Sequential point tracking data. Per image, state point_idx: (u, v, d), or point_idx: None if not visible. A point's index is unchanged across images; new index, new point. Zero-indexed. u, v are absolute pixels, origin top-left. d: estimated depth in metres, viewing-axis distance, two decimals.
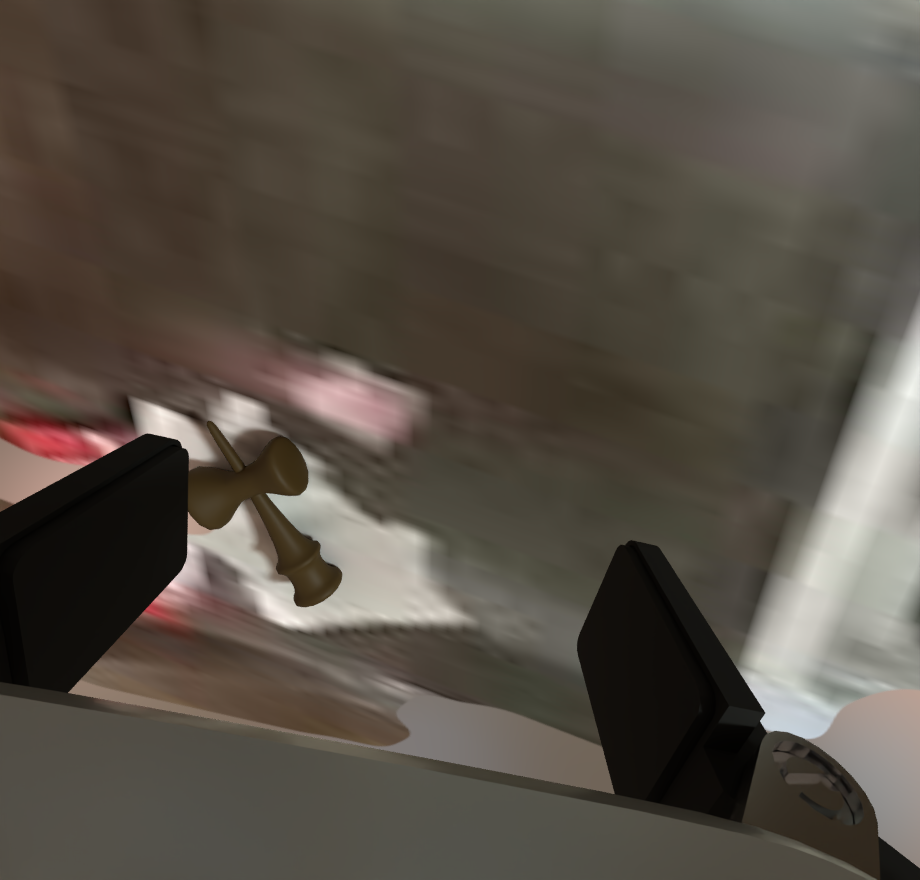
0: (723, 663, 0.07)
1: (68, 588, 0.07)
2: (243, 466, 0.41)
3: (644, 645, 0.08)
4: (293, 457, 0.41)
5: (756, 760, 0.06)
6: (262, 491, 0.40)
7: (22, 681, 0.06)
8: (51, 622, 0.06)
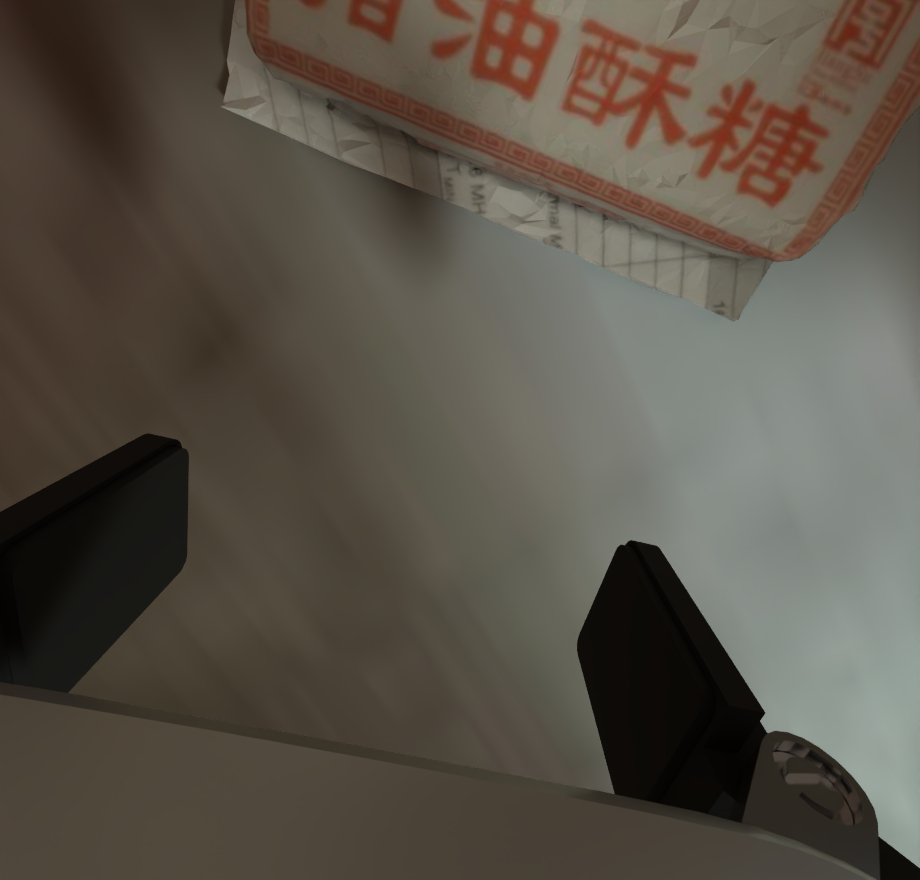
0: (723, 663, 0.07)
1: (68, 588, 0.07)
2: None
3: (644, 645, 0.08)
4: None
5: (756, 760, 0.06)
6: None
7: (22, 681, 0.06)
8: (51, 622, 0.06)
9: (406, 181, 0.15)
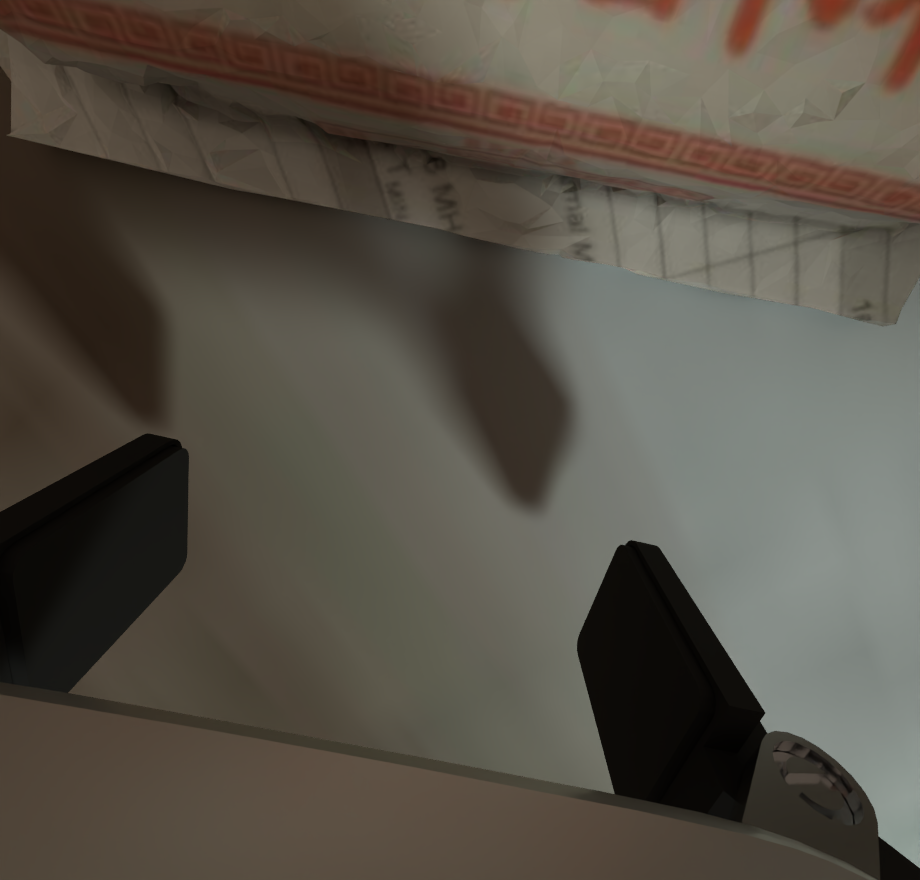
0: (723, 663, 0.07)
1: (68, 588, 0.07)
2: None
3: (644, 645, 0.08)
4: None
5: (756, 760, 0.06)
6: None
7: (22, 681, 0.06)
8: (51, 622, 0.06)
9: (326, 201, 0.09)
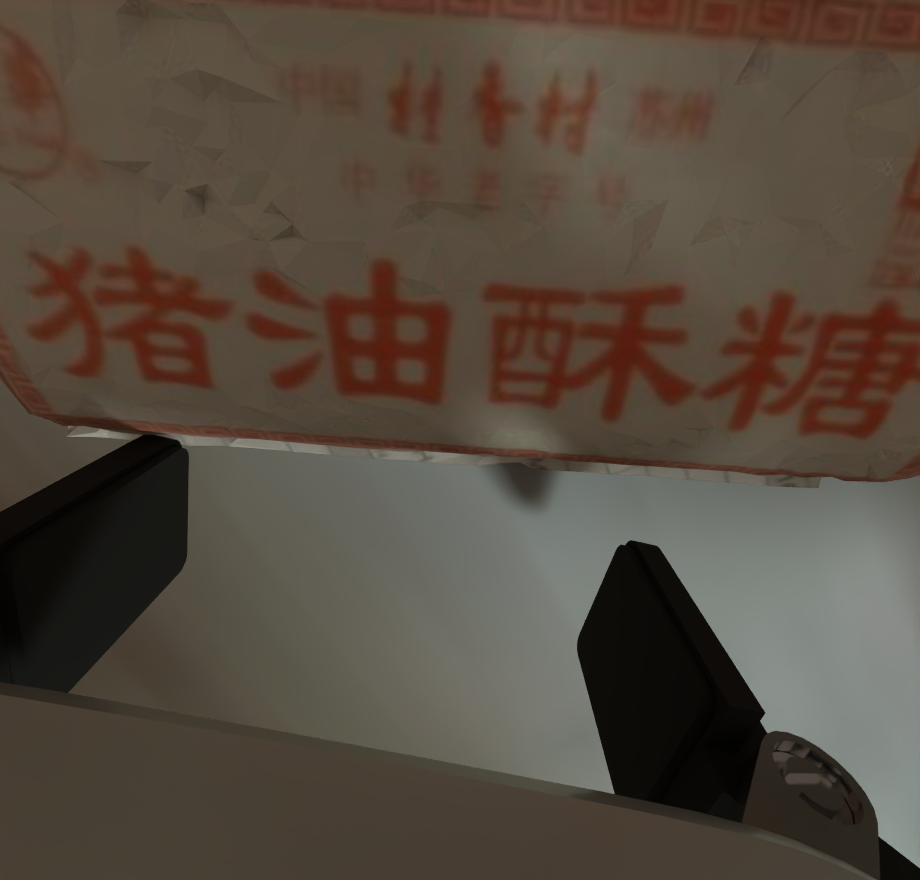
0: (723, 663, 0.07)
1: (68, 588, 0.07)
2: None
3: (644, 645, 0.08)
4: None
5: (756, 760, 0.06)
6: None
7: (22, 681, 0.06)
8: (51, 622, 0.06)
9: (320, 451, 0.11)
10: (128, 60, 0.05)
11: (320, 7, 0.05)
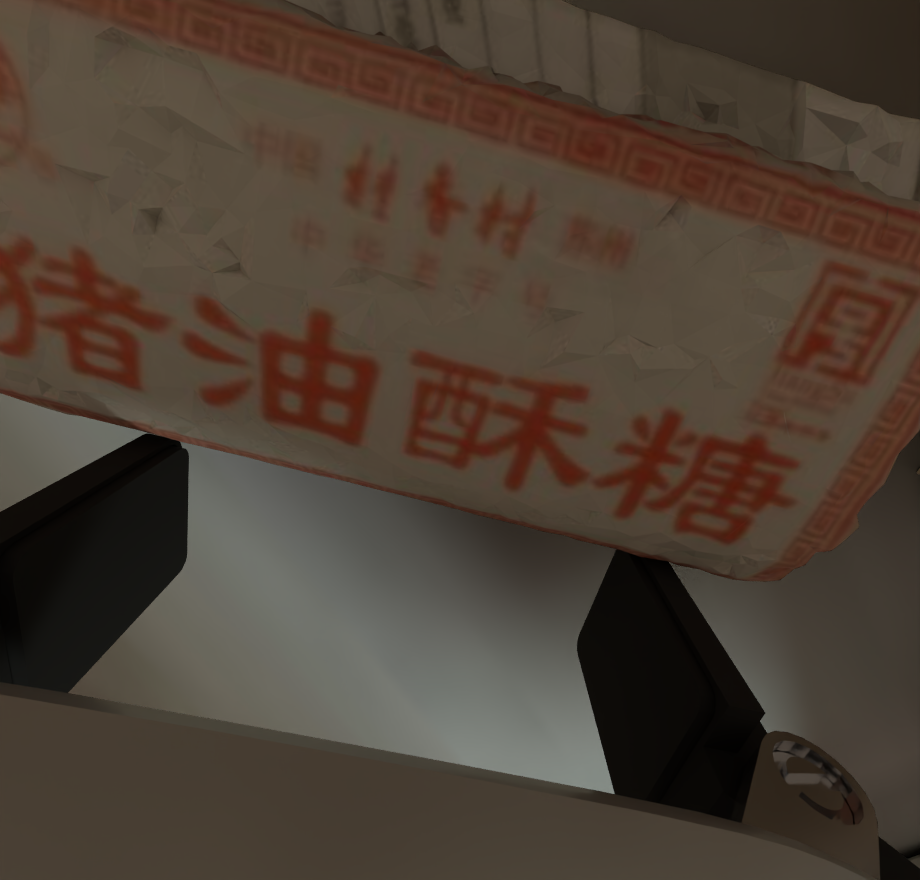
0: (723, 663, 0.07)
1: (68, 588, 0.07)
2: None
3: (644, 645, 0.08)
4: None
5: (756, 760, 0.06)
6: None
7: (22, 681, 0.06)
8: (51, 622, 0.06)
9: None
10: (100, 82, 0.05)
11: (293, 80, 0.05)
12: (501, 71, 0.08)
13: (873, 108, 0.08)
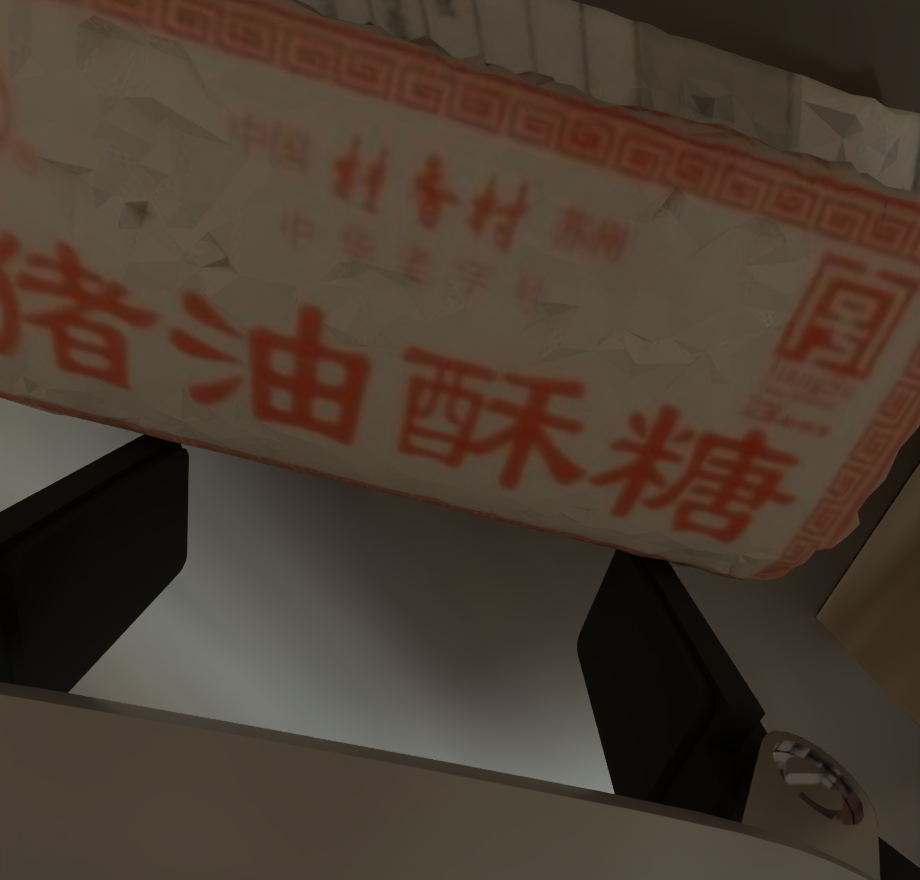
0: (723, 663, 0.07)
1: (68, 588, 0.07)
2: None
3: (644, 645, 0.08)
4: None
5: (756, 760, 0.06)
6: None
7: (22, 681, 0.06)
8: (51, 622, 0.06)
9: None
10: (83, 72, 0.05)
11: (280, 70, 0.05)
12: (494, 65, 0.08)
13: (870, 100, 0.08)
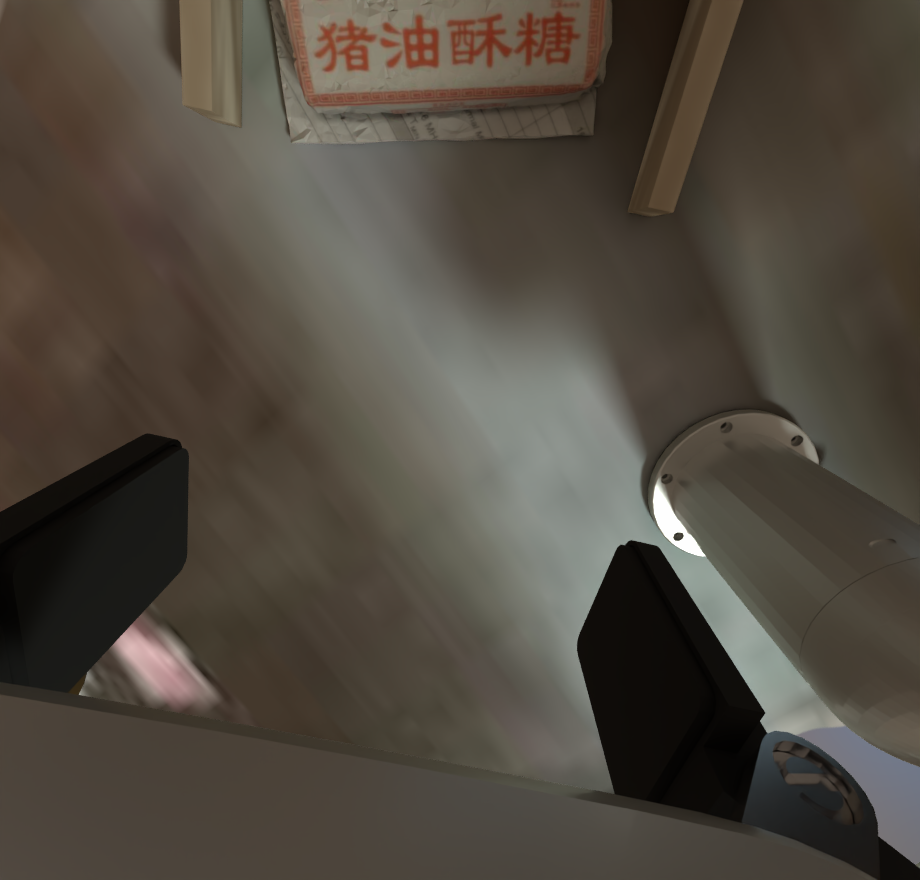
0: (723, 663, 0.07)
1: (68, 588, 0.07)
2: None
3: (644, 645, 0.08)
4: None
5: (756, 760, 0.06)
6: None
7: (22, 681, 0.06)
8: (51, 622, 0.06)
9: (392, 138, 0.27)
10: None
11: None
12: None
13: None
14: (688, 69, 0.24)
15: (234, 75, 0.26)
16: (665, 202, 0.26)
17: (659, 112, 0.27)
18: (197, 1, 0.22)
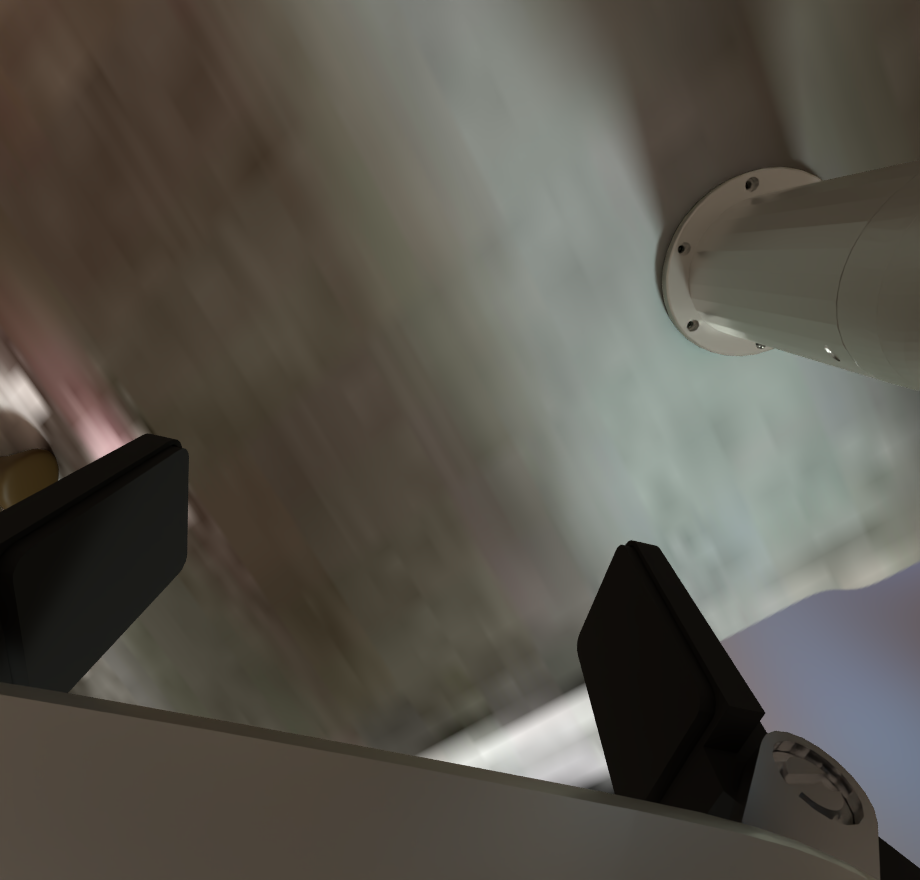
0: (723, 663, 0.07)
1: (68, 588, 0.07)
2: None
3: (644, 645, 0.08)
4: (41, 476, 0.39)
5: (756, 760, 0.06)
6: None
7: (22, 681, 0.06)
8: (51, 622, 0.06)
9: None
10: None
11: None
12: None
13: None
14: None
15: None
16: None
17: None
18: None
